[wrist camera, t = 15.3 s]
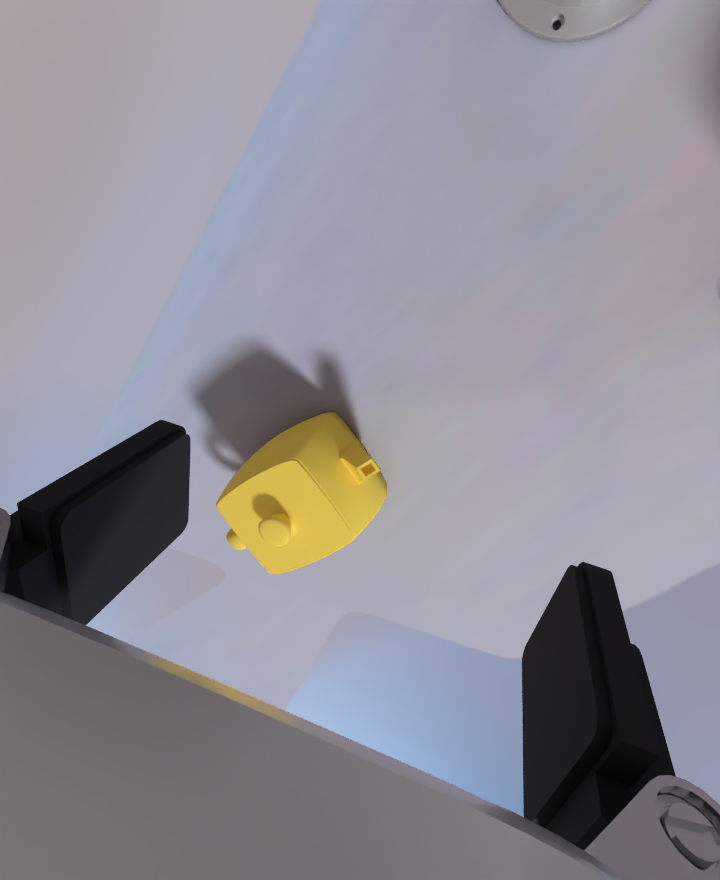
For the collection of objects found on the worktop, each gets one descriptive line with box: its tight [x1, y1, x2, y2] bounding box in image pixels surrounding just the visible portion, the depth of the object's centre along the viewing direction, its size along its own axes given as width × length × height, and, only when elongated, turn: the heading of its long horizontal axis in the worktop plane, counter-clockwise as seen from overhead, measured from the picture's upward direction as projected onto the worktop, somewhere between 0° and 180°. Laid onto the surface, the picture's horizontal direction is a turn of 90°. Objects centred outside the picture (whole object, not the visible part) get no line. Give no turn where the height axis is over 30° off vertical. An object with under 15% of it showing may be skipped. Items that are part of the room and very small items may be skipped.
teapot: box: [216, 412, 387, 574], centre depth 48 cm, size 20×12×12 cm, turn 127°
